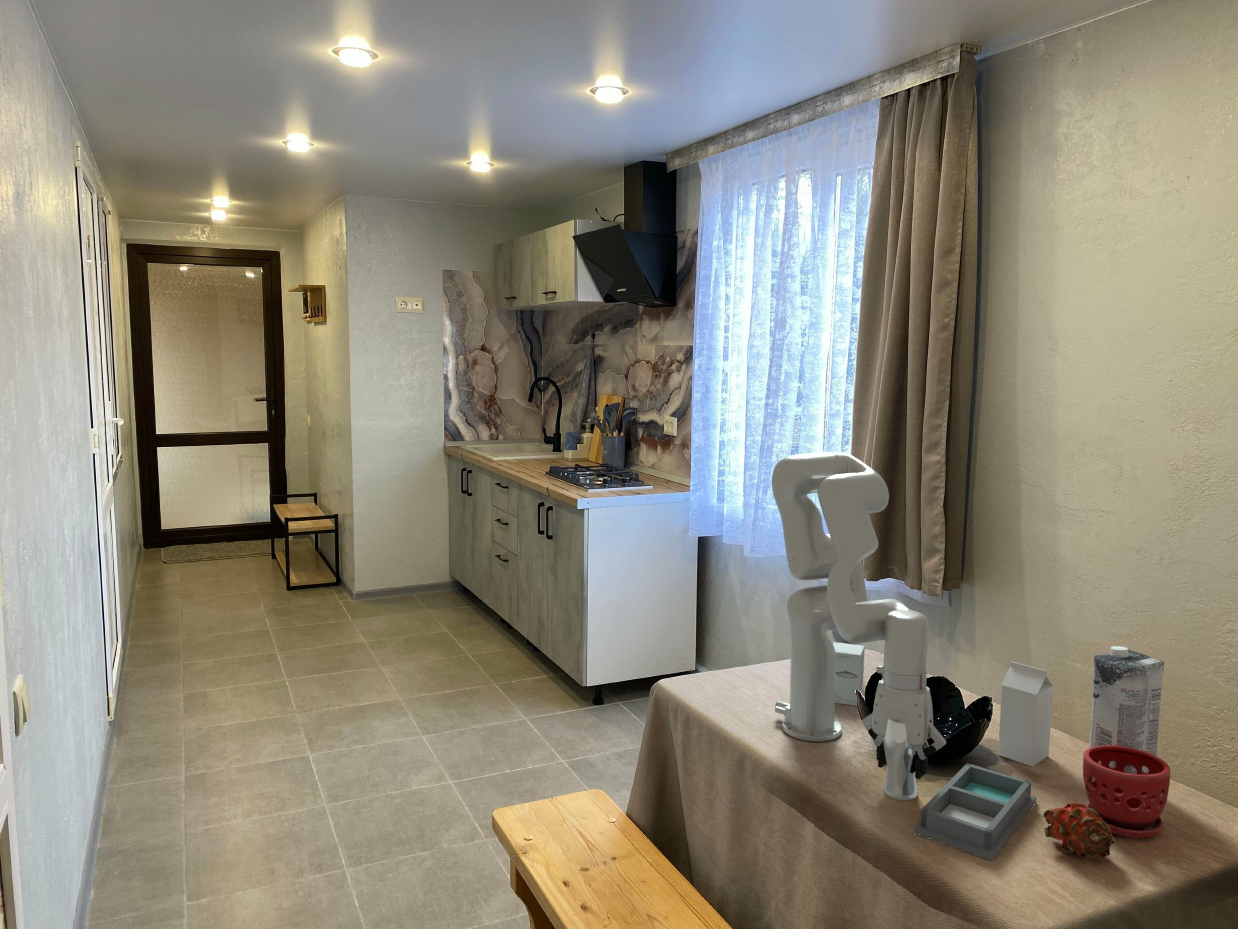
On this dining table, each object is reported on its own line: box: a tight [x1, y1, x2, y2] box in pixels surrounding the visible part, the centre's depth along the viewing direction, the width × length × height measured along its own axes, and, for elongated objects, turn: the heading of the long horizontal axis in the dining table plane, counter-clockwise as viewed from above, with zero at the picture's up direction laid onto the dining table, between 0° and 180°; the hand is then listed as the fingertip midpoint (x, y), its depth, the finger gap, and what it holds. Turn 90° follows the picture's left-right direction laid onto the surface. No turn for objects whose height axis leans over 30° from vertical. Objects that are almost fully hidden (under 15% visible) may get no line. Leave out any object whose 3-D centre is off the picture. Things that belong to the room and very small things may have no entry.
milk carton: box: [997, 661, 1054, 767], centre depth 181 cm, size 7×7×19 cm
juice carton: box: [1088, 645, 1165, 780], centre depth 166 cm, size 9×10×27 cm
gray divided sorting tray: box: [913, 762, 1037, 862], centre depth 158 cm, size 13×24×4 cm, turn 140°
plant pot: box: [1082, 745, 1171, 839], centre depth 156 cm, size 13×13×12 cm
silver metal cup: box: [883, 719, 919, 801], centre depth 167 cm, size 7×7×15 cm
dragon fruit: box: [1043, 801, 1116, 859], centre depth 148 cm, size 8×8×12 cm
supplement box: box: [832, 641, 866, 707], centre depth 211 cm, size 7×7×13 cm
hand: (901, 769), depth 167 cm, fingers closed on silver metal cup, 6 cm apart
